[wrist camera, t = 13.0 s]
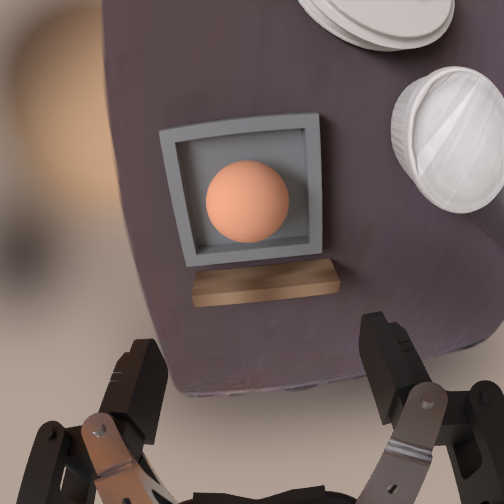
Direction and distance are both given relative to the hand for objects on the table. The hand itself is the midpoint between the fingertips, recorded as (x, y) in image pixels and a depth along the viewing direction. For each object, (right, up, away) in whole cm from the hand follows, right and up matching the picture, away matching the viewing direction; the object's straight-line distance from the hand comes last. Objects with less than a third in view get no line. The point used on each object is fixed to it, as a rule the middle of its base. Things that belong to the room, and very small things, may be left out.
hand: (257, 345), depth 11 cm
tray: (-1, +9, +13) cm, 15 cm away
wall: (+1, +2, +16) cm, 17 cm away
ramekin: (+15, +14, +10) cm, 23 cm away
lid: (+9, +24, +4) cm, 26 cm away
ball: (0, +7, +10) cm, 12 cm away
